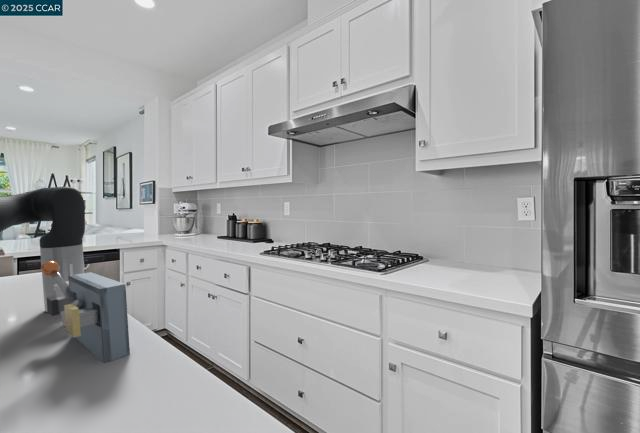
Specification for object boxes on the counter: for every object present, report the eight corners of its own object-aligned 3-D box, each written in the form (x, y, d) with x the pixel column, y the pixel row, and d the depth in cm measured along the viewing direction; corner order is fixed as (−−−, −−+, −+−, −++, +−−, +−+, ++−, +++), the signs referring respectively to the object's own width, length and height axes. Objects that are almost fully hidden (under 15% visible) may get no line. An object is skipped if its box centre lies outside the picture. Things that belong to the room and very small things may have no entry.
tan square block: (66, 331, 57) (64, 305, 57) (92, 324, 60) (91, 299, 60) (73, 337, 54) (71, 310, 54) (101, 329, 57) (99, 303, 57)
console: (65, 338, 69) (61, 276, 69) (94, 330, 73) (90, 272, 73) (96, 365, 56) (91, 290, 56) (129, 354, 60) (125, 284, 60)
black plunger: (47, 312, 66) (46, 297, 66) (71, 306, 69) (70, 292, 69) (52, 316, 64) (51, 300, 63) (77, 310, 67) (76, 295, 67)
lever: (69, 310, 63) (36, 265, 59) (84, 302, 64) (52, 257, 61) (73, 313, 61) (39, 267, 57) (88, 304, 63) (55, 258, 59)
